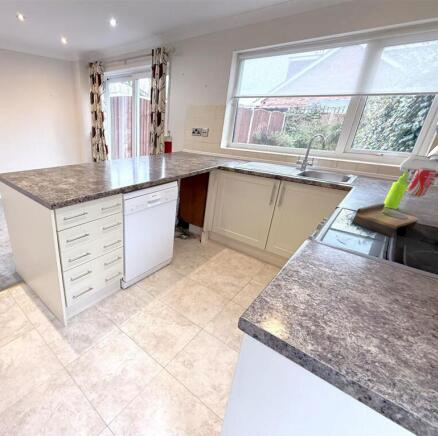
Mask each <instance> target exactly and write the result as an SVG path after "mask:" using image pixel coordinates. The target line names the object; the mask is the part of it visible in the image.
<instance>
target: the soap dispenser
mask: <svg viewBox="0 0 438 436" xmlns="http://www.w3.org/2000/svg"><path fill="white" fill-rule="evenodd" d="M408 177H409V173H407V172H403V175H401V176H399V177H398V180H397V181H394V182H393V183H392V184H391V187H390V189H389V191H388V193H387V196H386V197H385V199H384V201H383V203H384V204H385V206H384V208H386V209H391V210H397V209H398V207H399V205H400V204H401V202H402V200H403V197H404V195H405V193H406V190H407V188H408V186H409V184H408V183H407V182H408V180H407V178H408Z"/></svg>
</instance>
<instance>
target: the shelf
mask: <svg viewBox="0 0 438 436" xmlns="http://www.w3.org/2000/svg"><path fill="white" fill-rule="evenodd" d="M384 206H385V204H384V202H381V203H377V204H373V205H368V206H364V207H360V208H359V207H358V208H357V210H356V213H355V215H354V217H353V219H352V222H351V223H352V224H354V225H357V226H359V227H362V228H365V229H367V230H370V231H373V232H376V233H378V234H381V235H383V236H387V237H390V238H392V237H393V236H394V234H395V232H396V231H397V229H398V228H402V227H404V228H407V229H411V230H414V229H415V227H416V226H417V224H418V222H419V220H420V218H419V217H417V216H414V215H409V214H407V213H403V212H399V211H396V210H394V209H390V208H387V207H384Z"/></svg>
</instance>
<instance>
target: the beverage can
mask: <svg viewBox="0 0 438 436" xmlns="http://www.w3.org/2000/svg"><path fill="white" fill-rule="evenodd" d="M435 175H436V170H434V169H429V168H419V169H418V170H417V171H416V172H415V174H414V175H413V178H412V180H410V182H409V184H408V185H409V186H408V188H407V189H406V191H405V193H406V194H407V195H408V196H412V197H417V198H420V197H425V196H426V194H427V193H428V190H429V188H430V187H431V184H430V182H431V181H432V180H433V179H435Z"/></svg>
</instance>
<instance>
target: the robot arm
mask: <svg viewBox="0 0 438 436" xmlns="http://www.w3.org/2000/svg"><path fill="white" fill-rule="evenodd" d="M435 131H436V133H437V134H438V121H437V123H436V124H435ZM419 168H429V169H434V170H436V175H435V177H434V179H433V180H432V181H431V182H430V184H431V185H432V186H436V185H437V183H438V145H436V146H435V147H434V148H433V149H432V150H431V151H430V152H429V153H428V154H427V155H420V154H419V155H418V154H414V155H413V154H412V155H409V156H407V157H406V159H404V160H403V162H401V164H400V165H399V171H400V172H402V173H404V172H407V173H409V174H408V176H407V177H408V178H407V181H411V180H412V178H413V176H414V174H415V172H416V171H417V170H418V169H419ZM431 185H430V186H431Z"/></svg>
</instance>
